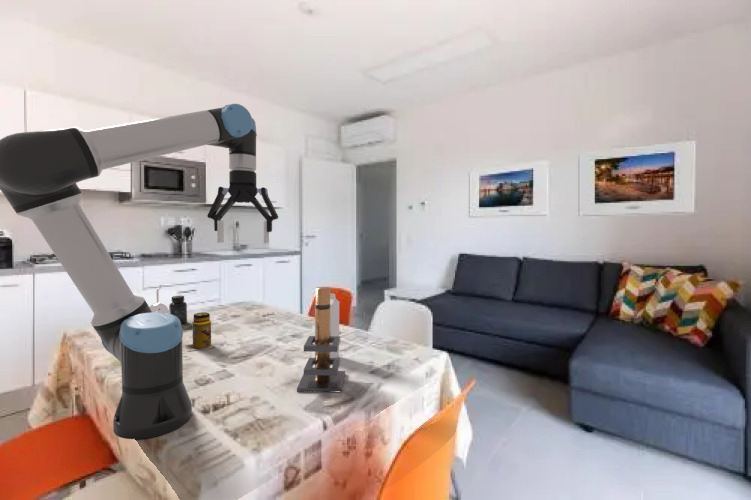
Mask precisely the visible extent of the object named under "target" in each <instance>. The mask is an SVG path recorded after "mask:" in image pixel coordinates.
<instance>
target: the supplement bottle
mask: <svg viewBox="0 0 751 500" xmlns="http://www.w3.org/2000/svg"><path fill="white" fill-rule="evenodd" d="M168 310H170V312H171V313H170V314H172V315H174V316H176V317H177V318H178V319H179V320H180V322H181V326H183V325H187V322H188V304H187V302H185V295H174V296H171V302H170V304H169V307H168ZM182 324H183V325H182Z"/></svg>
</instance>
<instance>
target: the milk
mask: <svg viewBox="0 0 751 500" xmlns="http://www.w3.org/2000/svg"><path fill="white" fill-rule="evenodd" d="M315 304H316V302H315V303H314V305H315ZM315 326H316V308H315V307H314V327H315ZM330 336H340V301H339V300H338V299H337V298H336V294H335V293H331V292H330ZM332 344H333V343H330V345H332ZM338 356H340V346H339V347H338V351H337V352H330V358H339V357H338Z"/></svg>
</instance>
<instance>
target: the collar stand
mask: <svg viewBox="0 0 751 500" xmlns="http://www.w3.org/2000/svg"><path fill="white" fill-rule="evenodd" d="M340 342H341V336H340V335H339V336H330V343H333V344H332V345H328V344H315V335H309V336H308V338H307V339H306V341H305V343H304V345H303V352H305V353H306V352H314V353H315V352H337V351H338V347H339V348H340V344H341V343H340ZM340 364H341V358H340V357H337V358H330V366H332V367H330V368H315V367H314V366H315V357H308V359H307V362H306V363H305V366H304V368H303V374H302V376H301V379H300V380H299V383H298V385H297V386H296V387H297V388H296V392H297V393H309V392H308V391H312V392H311V393H314V392H313V391H317V392H316V393H319V392H318V391H342V392H343V390H342V388H343V389H344V384H343V383H344V382H345V378H344V377H346V370H339V368H340ZM315 375H330V378H329V380H328V381H326V382H318V381H316V380H315ZM302 391H303V392H302ZM304 391H305V392H304ZM306 391H307V392H306Z"/></svg>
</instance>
